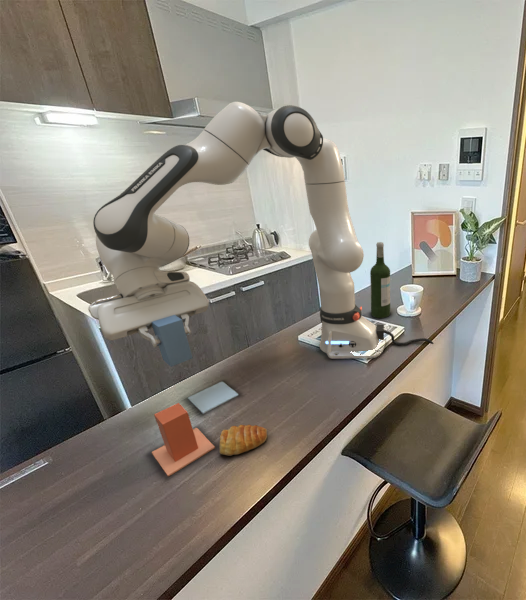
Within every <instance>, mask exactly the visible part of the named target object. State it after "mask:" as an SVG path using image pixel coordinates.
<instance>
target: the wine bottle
mask: <svg viewBox="0 0 526 600" xmlns="http://www.w3.org/2000/svg"><path fill="white" fill-rule="evenodd" d="M384 246H385V245H384V242H382V241H377V242H376V255H375V256H376V257H375V258H376V259H375V264H374V265H373V266H371V268H370V272H369V275H370V276H369V278H370V279H369V280H370V315H371V316H372V317H373V318H375V319H386V318H388V317H390V315H391V269H390V267H389V266H388V265H387V264H386V263H385V253H384V251H385V250H384Z"/></svg>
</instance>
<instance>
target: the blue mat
mask: <svg viewBox="0 0 526 600" xmlns="http://www.w3.org/2000/svg"><path fill="white" fill-rule="evenodd" d="M238 396H239V393H238V392H237V391H235V390H234V389H233V388H231V387H230V386H229V385H227V384H226V382H224V381H222V380H221V381H219V382H217V383H216V384H213V385H211V386H209V387H207V388H205V389H202V390H201V391H199V392H196V393H194V394H192V395H190V396H188V397H187V400H188V401H190V402H191V403H192V404H193V406H194V407H196V408H197V410H198V411H200V413H201V414H203V415H204V414H206V413H208V412H210V411H212V410H214V409H216V408H217V407H219V406H221V405H223V404H225V403H227V402H229V401H231V400H233V399H235V398H237V397H238Z"/></svg>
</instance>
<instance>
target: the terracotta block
mask: <svg viewBox="0 0 526 600" xmlns="http://www.w3.org/2000/svg"><path fill="white" fill-rule="evenodd" d="M153 417H154V419H155V421H156V424H157V427H158V430H159V433H160V436H161V438H162V441H163V444H164V445H165V447H166V450H167V452H168V453H169V454H170V456H171V457H172V458H173V459H174V461H175V462H176V461H178V460H179V459H181V458H183V457H184V456H186V455H188V454H190V453H191V452H193V451H195V450H196V449H198V445H197V442H196V438H195V435H194V432H193V429H194V428H193V426H192V423H191V419H190V416H189V412H188V411H187V410H186V409H185V408H184V406H183V405H182V404H180V402H177V403H175V404H173V405H170V406H169V407H167V408H165V409H163V410H160V411H158V412H156V413H154V416H153Z"/></svg>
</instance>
